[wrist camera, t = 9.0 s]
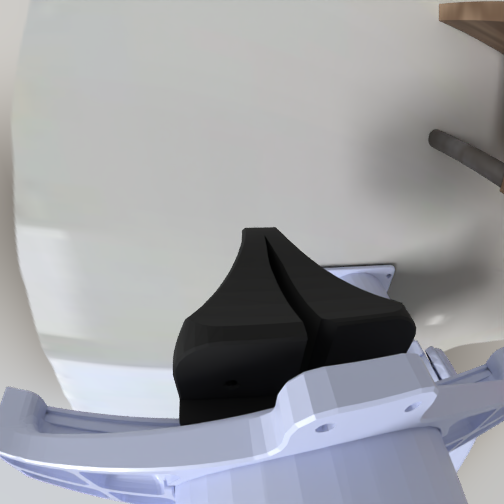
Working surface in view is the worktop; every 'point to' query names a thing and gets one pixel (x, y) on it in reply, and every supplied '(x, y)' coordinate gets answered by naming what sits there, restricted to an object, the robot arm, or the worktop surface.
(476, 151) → the walnut shelf
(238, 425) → the robot arm
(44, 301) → the worktop surface
